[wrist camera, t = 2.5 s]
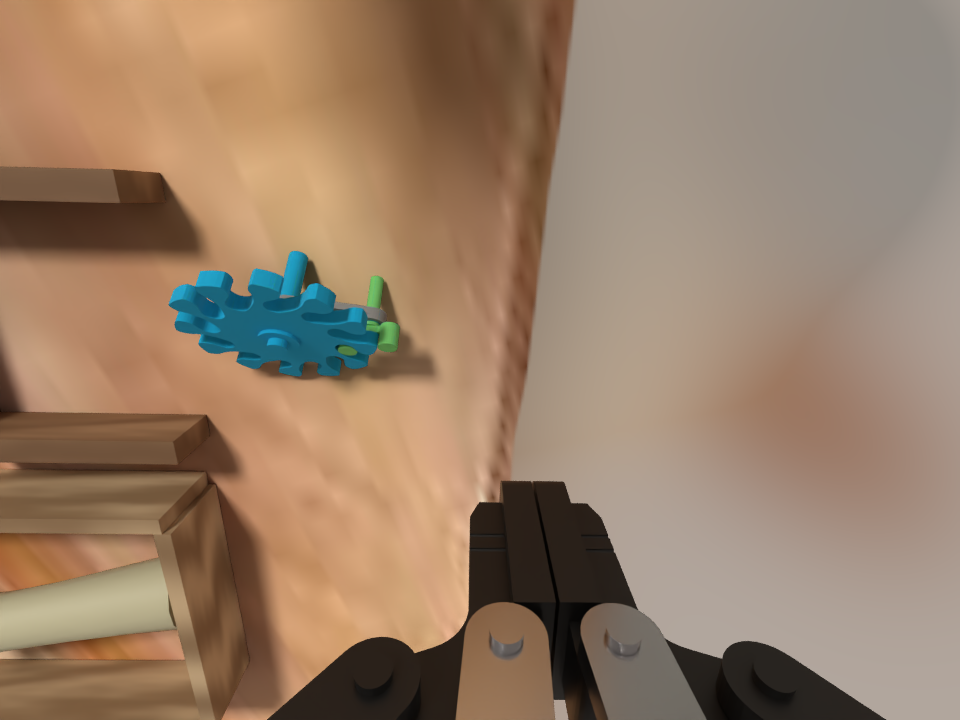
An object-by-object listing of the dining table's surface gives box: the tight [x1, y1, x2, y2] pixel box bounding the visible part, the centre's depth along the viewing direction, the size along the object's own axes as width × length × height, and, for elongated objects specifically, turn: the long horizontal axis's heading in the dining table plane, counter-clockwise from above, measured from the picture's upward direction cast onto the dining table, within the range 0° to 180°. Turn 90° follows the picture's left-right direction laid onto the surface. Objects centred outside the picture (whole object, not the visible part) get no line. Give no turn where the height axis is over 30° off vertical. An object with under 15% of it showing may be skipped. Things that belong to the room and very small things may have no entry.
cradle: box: [0, 167, 210, 465], centre depth 26 cm, size 16×14×4 cm
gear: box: [169, 251, 400, 377], centre depth 25 cm, size 11×6×10 cm
